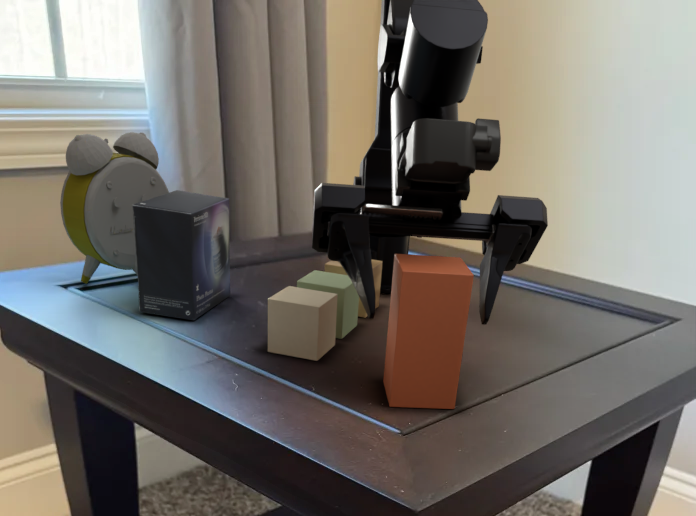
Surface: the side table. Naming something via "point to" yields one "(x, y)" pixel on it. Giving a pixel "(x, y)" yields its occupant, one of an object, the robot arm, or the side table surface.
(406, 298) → the tall block
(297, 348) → the cube
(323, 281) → the cube
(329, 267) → the cube
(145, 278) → the small box
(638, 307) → the side table surface
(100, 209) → the alarm clock
